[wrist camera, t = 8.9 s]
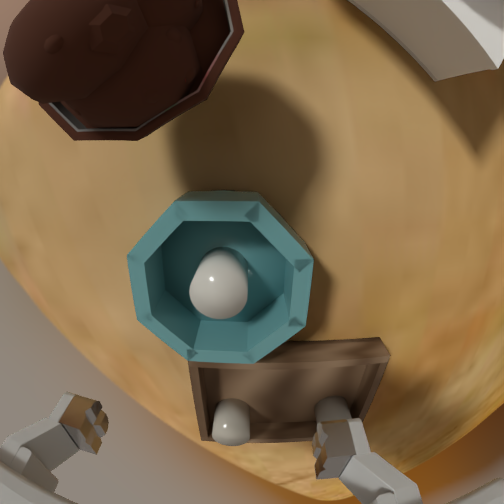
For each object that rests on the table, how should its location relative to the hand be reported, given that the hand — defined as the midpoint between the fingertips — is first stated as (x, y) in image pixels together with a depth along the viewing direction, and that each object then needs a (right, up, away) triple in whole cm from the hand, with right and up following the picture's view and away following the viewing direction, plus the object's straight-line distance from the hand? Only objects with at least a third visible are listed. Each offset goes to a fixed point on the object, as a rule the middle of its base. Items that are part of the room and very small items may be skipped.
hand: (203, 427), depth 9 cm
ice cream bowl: (-4, +19, +9) cm, 22 cm away
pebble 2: (0, -11, +20) cm, 23 cm away
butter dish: (+16, +32, +5) cm, 36 cm away
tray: (+5, -8, +19) cm, 21 cm away
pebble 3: (+11, -11, +20) cm, 25 cm away
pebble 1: (0, +5, +14) cm, 15 cm away
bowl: (-1, +5, +14) cm, 15 cm away
